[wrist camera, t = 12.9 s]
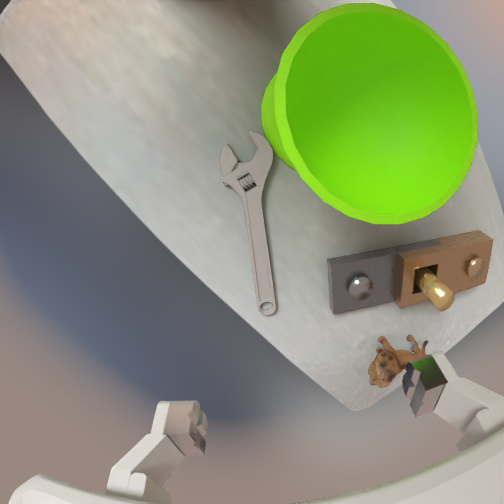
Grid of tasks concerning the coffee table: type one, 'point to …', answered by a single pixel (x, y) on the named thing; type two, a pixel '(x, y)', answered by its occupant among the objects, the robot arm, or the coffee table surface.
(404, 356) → the lion figurine
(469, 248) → the door latch
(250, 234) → the adjustable wrench
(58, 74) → the coffee table surface
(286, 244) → the coffee table surface
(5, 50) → the coffee table surface
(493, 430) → the robot arm
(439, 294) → the brass pin
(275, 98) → the wineglass
